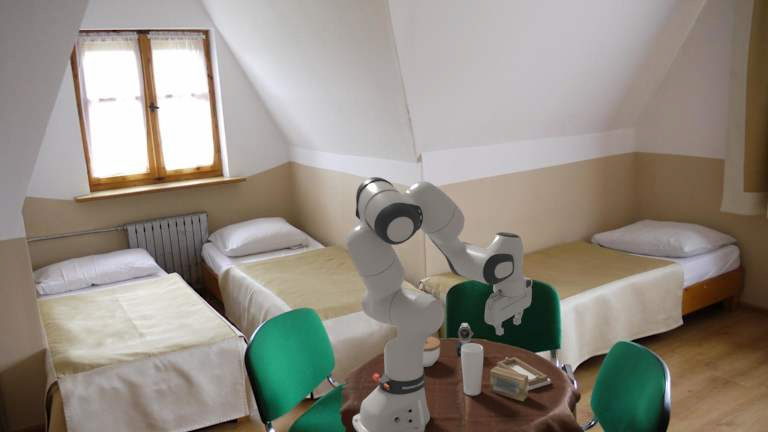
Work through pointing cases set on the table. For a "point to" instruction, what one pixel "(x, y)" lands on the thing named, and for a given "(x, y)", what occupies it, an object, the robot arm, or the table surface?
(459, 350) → the watch
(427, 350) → the lidded jar
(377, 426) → the robot arm
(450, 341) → the table surface
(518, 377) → the cardboard box
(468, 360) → the drinking glass
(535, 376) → the small wooden cabinet
